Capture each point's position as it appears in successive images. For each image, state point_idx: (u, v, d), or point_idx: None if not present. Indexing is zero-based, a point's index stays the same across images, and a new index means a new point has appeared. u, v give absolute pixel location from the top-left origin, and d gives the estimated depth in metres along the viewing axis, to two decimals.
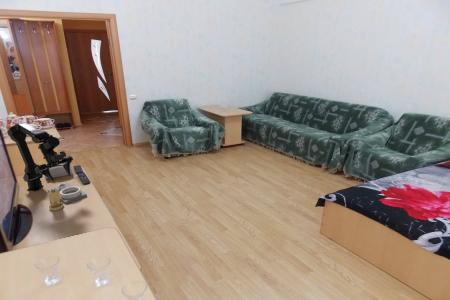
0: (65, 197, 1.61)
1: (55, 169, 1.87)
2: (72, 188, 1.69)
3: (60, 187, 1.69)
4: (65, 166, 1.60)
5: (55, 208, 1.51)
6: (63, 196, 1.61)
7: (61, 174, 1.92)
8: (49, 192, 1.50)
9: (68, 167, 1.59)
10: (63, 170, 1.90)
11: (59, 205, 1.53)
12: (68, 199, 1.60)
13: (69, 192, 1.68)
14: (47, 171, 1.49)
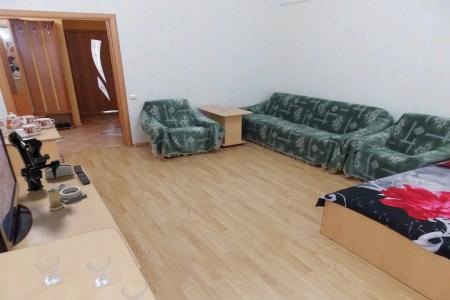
0: (65, 197, 1.61)
1: None
2: (72, 188, 1.69)
3: (60, 187, 1.69)
4: (52, 170, 1.60)
5: (55, 208, 1.51)
6: (63, 196, 1.61)
7: (62, 174, 1.92)
8: (49, 192, 1.50)
9: (54, 170, 1.59)
10: (63, 170, 1.91)
11: (59, 205, 1.53)
12: (68, 199, 1.60)
13: (69, 192, 1.68)
14: (30, 173, 1.50)
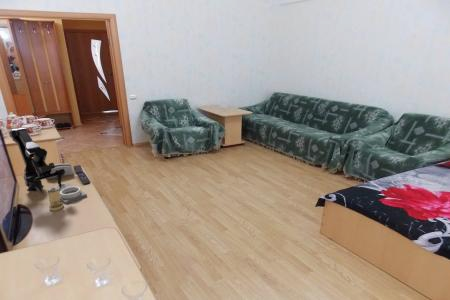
0: (65, 197, 1.61)
1: (56, 169, 1.87)
2: (72, 188, 1.69)
3: None
4: (57, 179, 1.58)
5: (55, 208, 1.51)
6: (63, 196, 1.61)
7: None
8: (49, 192, 1.50)
9: (59, 179, 1.57)
10: None
11: (59, 205, 1.53)
12: (68, 199, 1.60)
13: (69, 192, 1.68)
14: (35, 183, 1.48)
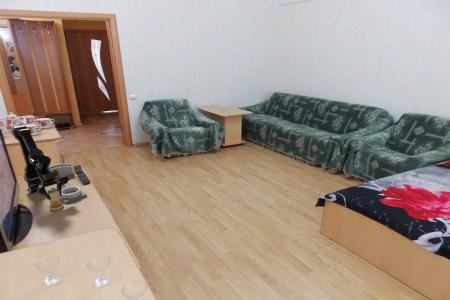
0: (65, 197, 1.61)
1: (56, 169, 1.87)
2: (72, 188, 1.69)
3: None
4: (57, 187, 1.55)
5: (55, 208, 1.51)
6: (63, 196, 1.61)
7: (62, 174, 1.92)
8: (49, 192, 1.50)
9: (59, 188, 1.54)
10: (64, 170, 1.91)
11: (59, 205, 1.53)
12: (68, 199, 1.60)
13: (69, 192, 1.68)
14: (43, 189, 1.48)
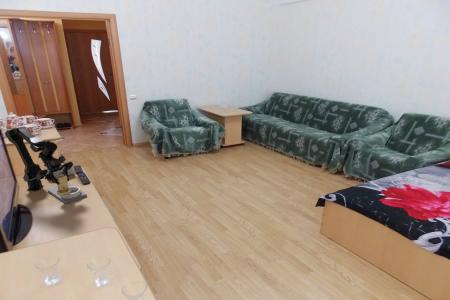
0: (65, 197, 1.61)
1: None
2: (72, 188, 1.69)
3: None
4: (63, 172, 1.60)
5: (64, 192, 1.57)
6: (63, 196, 1.61)
7: None
8: (57, 177, 1.54)
9: (66, 173, 1.59)
10: None
11: (67, 189, 1.58)
12: (68, 199, 1.60)
13: None
14: (51, 175, 1.52)
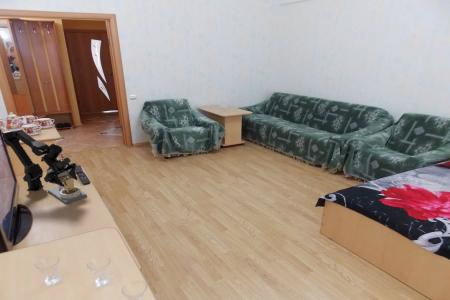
0: (65, 197, 1.61)
1: None
2: None
3: (60, 187, 1.69)
4: (71, 172, 1.67)
5: None
6: (63, 196, 1.61)
7: (63, 174, 1.92)
8: (64, 180, 1.61)
9: (74, 172, 1.67)
10: None
11: (74, 191, 1.65)
12: (68, 199, 1.60)
13: None
14: (56, 177, 1.57)
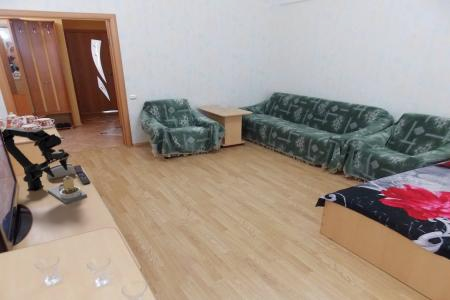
0: (65, 197, 1.61)
1: (58, 169, 1.87)
2: None
3: (60, 187, 1.69)
4: (62, 162, 1.71)
5: None
6: (63, 196, 1.61)
7: (64, 174, 1.92)
8: (64, 179, 1.61)
9: (65, 163, 1.71)
10: None
11: (74, 191, 1.65)
12: (68, 199, 1.60)
13: None
14: (48, 168, 1.60)
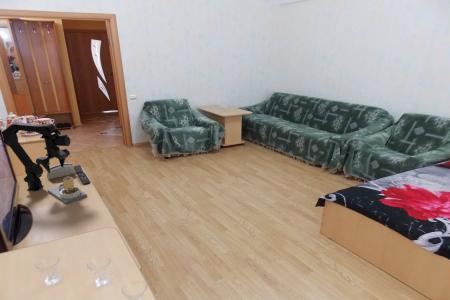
0: (65, 197, 1.61)
1: (59, 169, 1.87)
2: None
3: (60, 187, 1.69)
4: None
5: None
6: (63, 196, 1.61)
7: (64, 174, 1.92)
8: (64, 180, 1.61)
9: (63, 160, 1.73)
10: (66, 169, 1.91)
11: (74, 191, 1.65)
12: (68, 199, 1.60)
13: None
14: (48, 165, 1.63)
